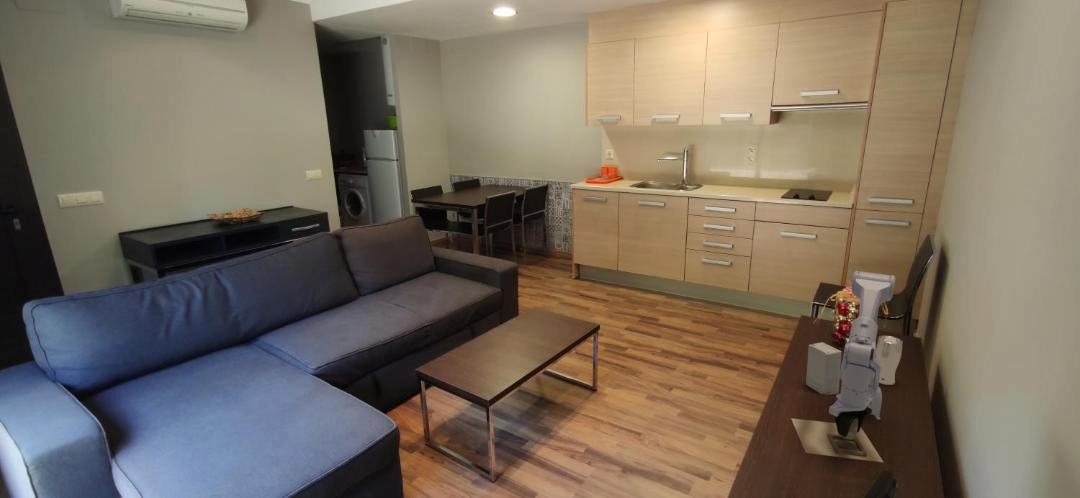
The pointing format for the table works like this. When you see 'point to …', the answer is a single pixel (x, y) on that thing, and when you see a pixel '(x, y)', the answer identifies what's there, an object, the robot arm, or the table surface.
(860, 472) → the table surface
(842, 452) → the board
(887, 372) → the beer glass
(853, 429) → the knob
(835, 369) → the skincare box
